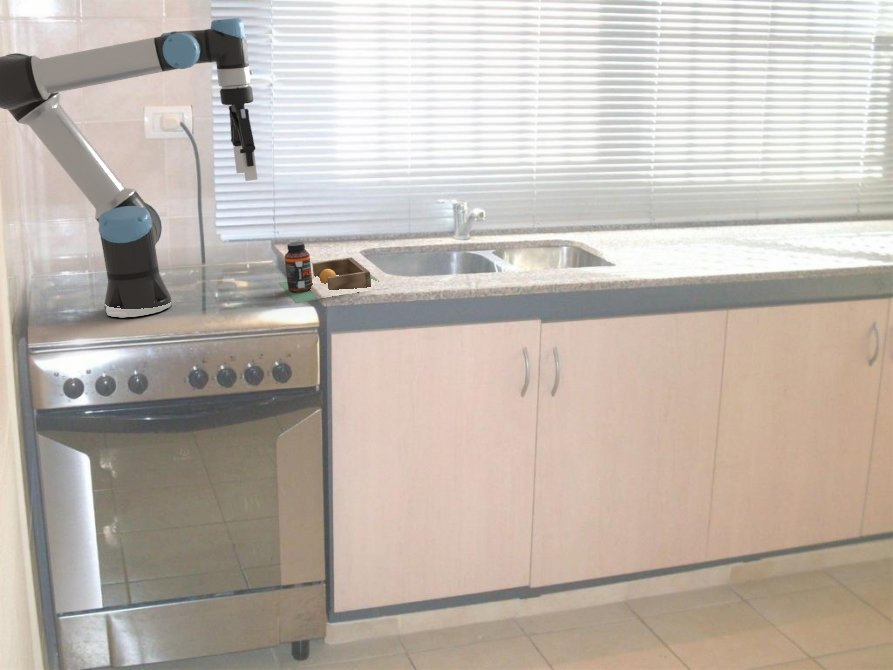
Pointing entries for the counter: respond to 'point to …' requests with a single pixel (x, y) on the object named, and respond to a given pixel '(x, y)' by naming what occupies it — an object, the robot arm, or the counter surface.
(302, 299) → the pitch mat
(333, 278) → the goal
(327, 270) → the ball
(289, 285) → the supplement bottle
